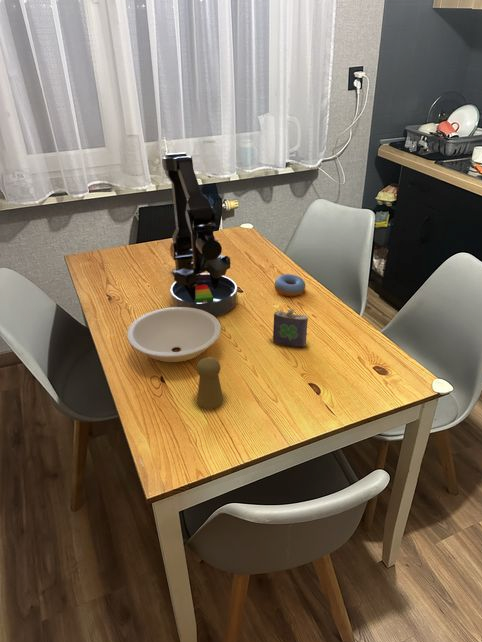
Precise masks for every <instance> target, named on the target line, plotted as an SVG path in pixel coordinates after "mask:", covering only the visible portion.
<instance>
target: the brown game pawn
mask: <svg viewBox="0 0 482 642" xmlns="http://www.w3.org/2000/svg"><path fill="white" fill-rule="evenodd" d="M196 372H197V374H198V375H199V377H198V389H197V397H196V398H197V399H196V401H197V405H198V406H199V407H201V408H202V409H207V410H211V409H216V408H219V407H220V406H221V405H222V404H223V403H224V396H223V395H224V394H223V391H222V385H221V380H220V376H219V374H220V372H221V363H220V362H219V361H218V360H217V359H216V358H214V357H204V358H202V359H200V360H199V361H198V362H197V365H196Z"/></svg>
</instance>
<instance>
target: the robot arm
mask: <svg viewBox="0 0 482 642" xmlns="http://www.w3.org/2000/svg"><path fill="white" fill-rule="evenodd" d="M193 160H194V159H193V156H192V155H187V153H186V152H177V153H176V152H173V153H166V154H165V155H164V157H162V158H161V165H162V169H163V171H164V172H165V173H164V174H165V175H166V177H167V178H168V180H169V181H170V184H171V193H172V201H173V209H174V220H175V230H174V231H173V233H172V238H171V239H172V242H171V243H170V247H169V253H170V256H171V258H172V259H173V261H174V263H175V269H174V270H172V274H173V280H174V282H176V281H177V282H179V283H181V284H183V286H184V287H185V288H186V290H187V292H188V293H189V295H190V297H191V298H192V299H193V300H195V297H196V292H195V286H196V285H197V284H198V282H196V281H197V275H199V274H204V273H205V272H207V274H210V278H211V283H212V287H213V289H216V288H217V285H218V282H219V279H220V277H221V276H225V275H226V274H227V270H229V269H231V264H232V263H231V257H230V256H228V255H223V254H222V251H223V247H222V244H221V243H220V241H218V239H217V238H216V237H215V235H214V232H219V226H220V225H219V220H218V216H217V213H216V210H215V209H214V206H212V205H211V202H210V200H209V198H208V197H206V195H204V194H203V192H202V190H201V187H200V184H199V182H198V179H197V175H196V172H195V169H194V161H193Z"/></svg>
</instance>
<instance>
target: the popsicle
mask: <svg viewBox="0 0 482 642" xmlns="http://www.w3.org/2000/svg"><path fill="white" fill-rule="evenodd" d="M195 292H196V297H195V302H196V303H207V302H213V301H214V299H213V296H212V294H211V292H210V290H209V287H208V286H207V285H197V286H195Z"/></svg>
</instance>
